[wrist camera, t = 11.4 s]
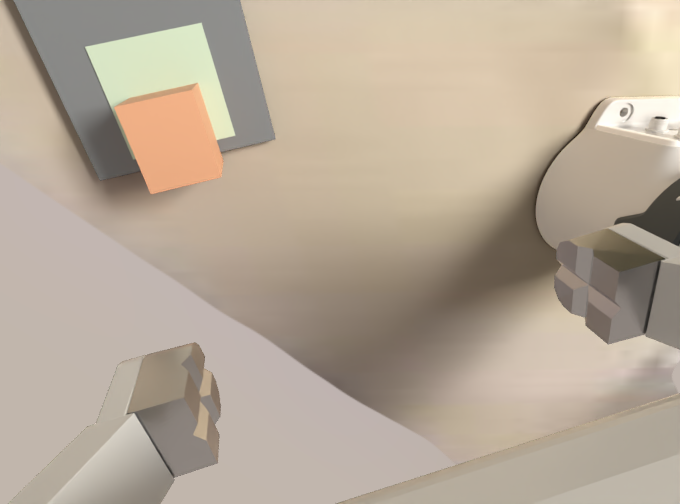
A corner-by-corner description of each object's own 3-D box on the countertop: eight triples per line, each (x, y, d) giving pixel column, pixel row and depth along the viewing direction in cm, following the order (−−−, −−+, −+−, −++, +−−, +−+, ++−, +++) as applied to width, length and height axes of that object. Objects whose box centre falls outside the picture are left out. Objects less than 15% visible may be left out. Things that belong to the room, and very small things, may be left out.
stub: (197, 82, 32) (192, 89, 28) (223, 160, 35) (221, 177, 31) (129, 97, 31) (113, 107, 27) (161, 175, 34) (150, 194, 30)
